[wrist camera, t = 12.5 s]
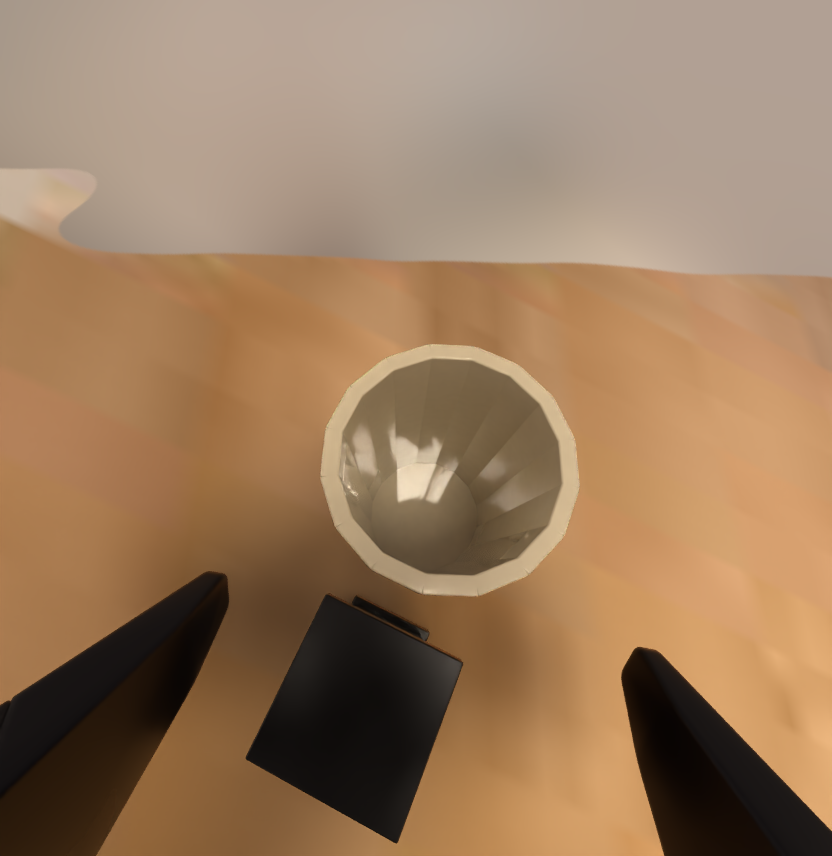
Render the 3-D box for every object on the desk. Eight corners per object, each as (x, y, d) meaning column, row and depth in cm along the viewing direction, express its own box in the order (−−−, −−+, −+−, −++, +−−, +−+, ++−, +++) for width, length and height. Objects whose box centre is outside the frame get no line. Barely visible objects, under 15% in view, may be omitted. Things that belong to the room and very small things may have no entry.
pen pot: (454, 600, 20) (529, 647, 9) (343, 546, 21) (271, 521, 9) (498, 487, 22) (608, 400, 11) (395, 441, 23) (391, 310, 11)
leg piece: (398, 731, 19) (397, 844, 11) (305, 682, 19) (244, 759, 12) (439, 626, 20) (464, 662, 13) (353, 583, 21) (326, 593, 13)
